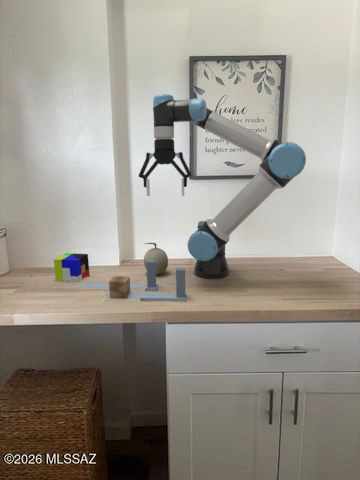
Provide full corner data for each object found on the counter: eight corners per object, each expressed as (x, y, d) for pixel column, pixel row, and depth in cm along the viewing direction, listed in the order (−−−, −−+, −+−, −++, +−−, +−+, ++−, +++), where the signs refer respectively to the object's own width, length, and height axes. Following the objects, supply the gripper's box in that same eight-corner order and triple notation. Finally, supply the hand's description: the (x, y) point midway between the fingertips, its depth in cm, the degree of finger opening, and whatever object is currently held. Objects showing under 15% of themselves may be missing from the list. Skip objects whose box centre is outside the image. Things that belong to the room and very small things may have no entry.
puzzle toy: (78, 284, 142) (76, 260, 139) (56, 283, 144) (53, 259, 141) (89, 276, 151) (87, 254, 149) (68, 275, 153) (66, 253, 151)
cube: (130, 292, 129) (129, 276, 128) (126, 298, 123) (125, 282, 122) (114, 291, 130) (113, 276, 128) (109, 297, 124) (108, 281, 123)
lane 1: (158, 286, 137) (157, 259, 135) (156, 290, 133) (155, 263, 130) (127, 285, 138) (126, 259, 136) (125, 290, 134) (123, 262, 131)
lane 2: (187, 295, 127) (186, 266, 125) (186, 301, 122) (185, 271, 120) (106, 294, 130) (104, 266, 127) (102, 299, 125) (100, 270, 122)
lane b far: (120, 285, 139) (120, 283, 138) (117, 290, 134) (117, 287, 134) (83, 285, 140) (83, 283, 140) (79, 289, 135) (78, 287, 135)
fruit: (168, 269, 159) (167, 237, 156) (168, 277, 148) (167, 243, 145) (145, 269, 159) (144, 237, 155) (143, 278, 148) (142, 243, 144)
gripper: (197, 139, 134) (197, 194, 139) (133, 140, 136) (135, 195, 141) (197, 137, 127) (197, 196, 132) (129, 139, 129) (131, 197, 134)
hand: (165, 195), depth 136 cm, fingers open, 13 cm apart
